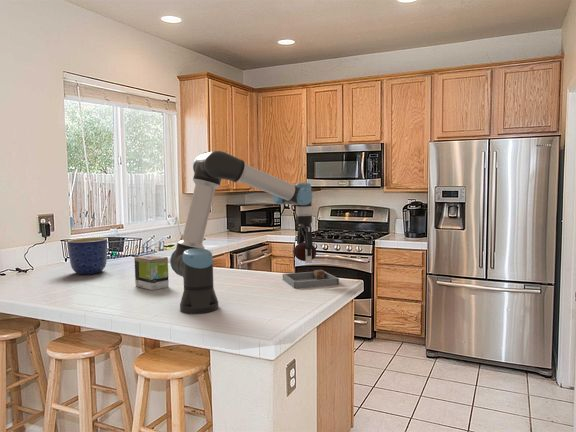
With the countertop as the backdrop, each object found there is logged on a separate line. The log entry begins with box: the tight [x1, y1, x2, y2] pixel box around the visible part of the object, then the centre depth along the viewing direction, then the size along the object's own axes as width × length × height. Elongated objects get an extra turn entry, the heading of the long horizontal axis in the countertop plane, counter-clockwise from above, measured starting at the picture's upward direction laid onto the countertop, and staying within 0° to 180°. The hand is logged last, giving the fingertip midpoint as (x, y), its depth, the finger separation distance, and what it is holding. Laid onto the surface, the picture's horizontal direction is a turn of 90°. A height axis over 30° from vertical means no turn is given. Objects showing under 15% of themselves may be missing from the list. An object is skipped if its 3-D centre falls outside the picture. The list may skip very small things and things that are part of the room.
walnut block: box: [313, 269, 325, 280], centre depth 236 cm, size 4×4×4 cm
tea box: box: [134, 254, 170, 291], centre depth 227 cm, size 15×10×15 cm, turn 47°
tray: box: [282, 270, 340, 289], centre depth 228 cm, size 22×20×4 cm
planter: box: [66, 236, 108, 276], centre depth 265 cm, size 21×21×19 cm
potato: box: [292, 241, 317, 262], centre depth 227 cm, size 9×12×9 cm
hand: (305, 260), depth 227 cm, fingers closed on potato, 10 cm apart
